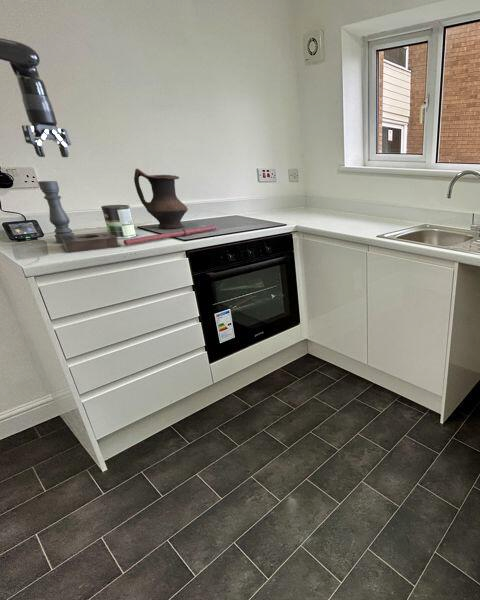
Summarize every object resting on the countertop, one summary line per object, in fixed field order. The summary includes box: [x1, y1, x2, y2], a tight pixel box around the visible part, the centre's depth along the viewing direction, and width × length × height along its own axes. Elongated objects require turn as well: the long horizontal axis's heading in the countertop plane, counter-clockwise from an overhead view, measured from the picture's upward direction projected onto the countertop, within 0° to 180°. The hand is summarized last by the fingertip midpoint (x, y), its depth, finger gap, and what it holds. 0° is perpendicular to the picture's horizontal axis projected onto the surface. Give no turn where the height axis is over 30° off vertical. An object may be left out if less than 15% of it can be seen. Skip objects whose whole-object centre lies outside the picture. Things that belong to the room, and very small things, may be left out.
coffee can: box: [100, 204, 137, 240], centre depth 163 cm, size 10×10×14 cm
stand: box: [60, 231, 120, 253], centre depth 146 cm, size 16×16×4 cm
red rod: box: [122, 225, 217, 246], centre depth 167 cm, size 45×3×3 cm, turn 157°
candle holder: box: [37, 180, 75, 244], centre depth 148 cm, size 6×6×25 cm
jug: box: [133, 168, 188, 230], centre depth 185 cm, size 21×18×30 cm
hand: (53, 157), depth 134 cm, fingers open, 8 cm apart
